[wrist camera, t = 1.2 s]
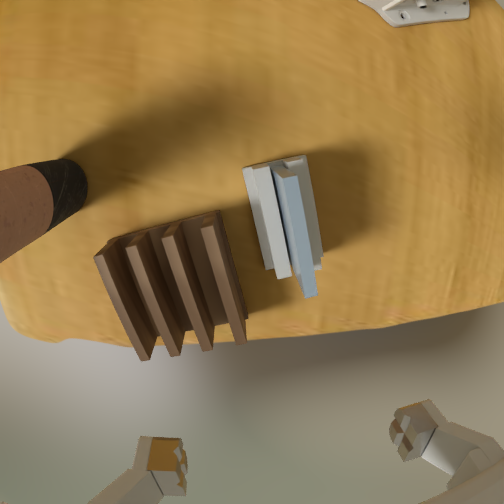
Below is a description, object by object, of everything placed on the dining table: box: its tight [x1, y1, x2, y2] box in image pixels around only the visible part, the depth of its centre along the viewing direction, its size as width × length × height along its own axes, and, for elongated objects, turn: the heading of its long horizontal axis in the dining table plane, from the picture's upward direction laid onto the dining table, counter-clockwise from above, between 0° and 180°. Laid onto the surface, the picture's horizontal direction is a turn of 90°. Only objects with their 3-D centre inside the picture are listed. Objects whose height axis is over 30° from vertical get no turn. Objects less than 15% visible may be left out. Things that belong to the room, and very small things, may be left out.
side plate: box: [270, 165, 318, 298], centre depth 31 cm, size 1×11×9 cm, turn 13°
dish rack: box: [93, 210, 248, 361], centre depth 35 cm, size 14×14×6 cm
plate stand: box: [242, 155, 324, 279], centre depth 34 cm, size 7×12×4 cm, turn 13°
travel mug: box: [0, 159, 87, 263], centre depth 23 cm, size 8×8×20 cm
